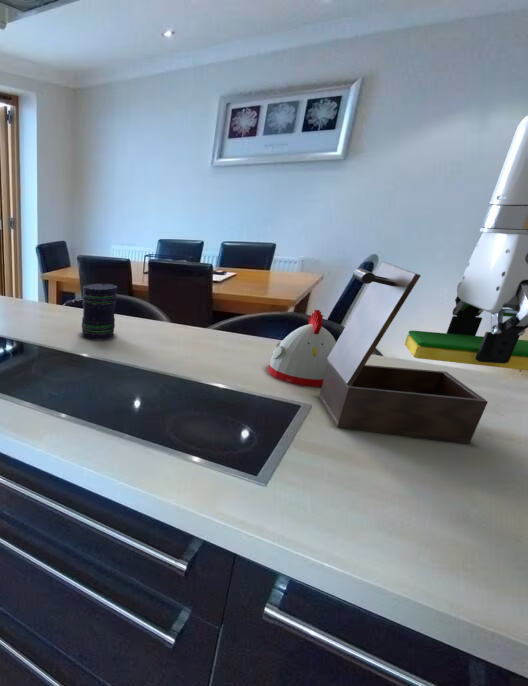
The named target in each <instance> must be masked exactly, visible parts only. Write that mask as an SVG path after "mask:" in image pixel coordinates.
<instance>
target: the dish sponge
mask: <svg viewBox="0 0 528 686" xmlns="http://www.w3.org/2000/svg"><path fill="white" fill-rule="evenodd" d="M483 338H484V336H481V335H480V336H479V335H476V336H471V335H459V334H447V332H436V331H435V332H434V331H422V330H409V331H408V334H407V336H406V339H405V342H404V345H405V347H406V348H407V350H408V351H409V352H410V354H411V355H412V357H413V358H415V359H418V360H419V359H420V360H428V361H429V360H430V361H439V362H446V363H447V362H448V363H456V364H457V363H458V364H464V365H465V364H466V365H475V366H482V367H483V366H485V367H494V368H504V369H512V370H522V371H528V340H527V339H518V341H517V344H516V346H515V348H514V351H513V353H512V355H511V357H510V360H509V362H508V363H505V364H503V363H489V362H479V361H477V360H476V356H477V353H478V351H479V348H480V346H481V343H482V340H483Z"/></svg>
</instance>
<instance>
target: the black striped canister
mask: <svg viewBox="0 0 528 686" xmlns="http://www.w3.org/2000/svg"><path fill="white" fill-rule="evenodd" d="M82 287H83V288H82V289H83V291H82V307H83V309H82V310H83V311H82V318H81V336H82V338H83V339H87V340H91V341H106V340H111V339H113V338H114V337H115V336H114V335H115V334H114V333H115V329H116V328H115V327H116V322H115V321H116V318H115V309H116V304H117V297H118V296H117V290H118V286H117V285H116V284H112V283H106V282H100V283H99V282H96V283H87V284H84V285H83V286H82Z"/></svg>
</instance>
